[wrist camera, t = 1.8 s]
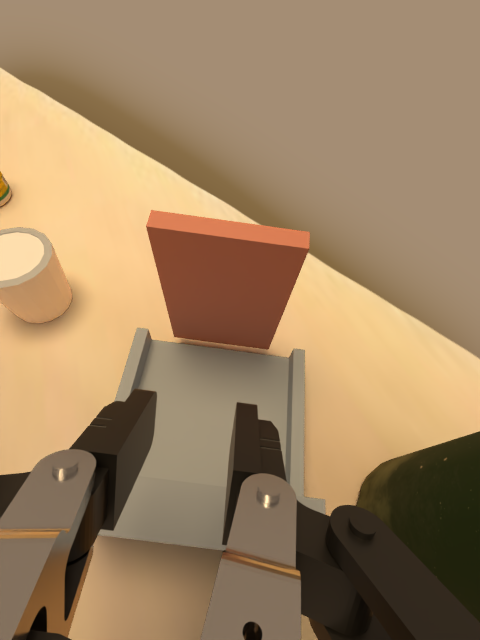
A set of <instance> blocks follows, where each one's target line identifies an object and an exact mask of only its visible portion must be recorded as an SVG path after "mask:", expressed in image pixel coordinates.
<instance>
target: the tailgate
mask: <svg viewBox="0 0 480 640" xmlns="http://www.w3.org/2000/svg"><path fill="white" fill-rule="evenodd" d="M146 227H147V231H148V235H149V239H150V243H151V247H152V251H153V255H154V259H155V263H156V267H157V271H158V275H159V279H160V283H161V286H162V290H163V294H164V298H165V302H166V306H167V310H168V314H169V318H170V322H171V326H172V330H173V334H174V337H178V338H186V339H193V340H201V341H208V342H216V343H223V344H231V345H238V346H246V347H253V348H261V349H269V347H270V344H271V342H272V339H273V337H274V334H275V332H276V329H277V327H278V324H279V322H280V320H281V317H282V315H283V312H284V310H285V307H286V305H287V302H288V300H289V297H290V295H291V292H292V290H293V287H294V285H295V283H296V280H297V278H298V275H299V273H300V270H301V268H302V265H303V263H304V260H305V258H306V255H307V253H308V250H309V235H310V233H309V232H305V231H298V230H290V229H283V228H276V227H269V226H262V225H255V224H247V223H240V222H233V221H226V220H219V219H211V218H204V217H197V216H190V215H183V214H175V213H168V212H161V211H154V210H151V213H150V216H149V219H148V222H147V225H146Z"/></svg>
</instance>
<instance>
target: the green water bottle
mask: <svg viewBox="0 0 480 640" xmlns="http://www.w3.org/2000/svg"><path fill="white" fill-rule="evenodd" d="M357 507H361V508H363V509H366V510H368V511H370V512H371V513H373V514H374V515H376V516H377V517H378V518H380V519H381V520H382V521H383V522H384V523H385V524H386V525H387V526H388V527H389V528H390V529H391V530H392V532H393V533H394V534H395V535H396V536H397V537H398V538H399V539H400V540H401V541H402V542H403V543H404V544H405V545H406V546H407V547H408V548H409V549H410V550H411V551H412V552H413V553H414V554H415V556H416V557H417V558H418V559H419V560H420V561H421V562H422V563H423V564H424V565H425V566H426V567H427V568H428V569H429V570H430V571H431V572H432V573H433V574H434V575H435V576H436V577H437V578H438V580H439V581H440V582H441V583H442V584H443V585H444V586H445V587H446V588H447V589H448V590H449V591H450V592H451V593H452V594H453V595H454V596H455V597H456V598H457V599H458V600H459V601H460V602H461V604H462V605H463V606H464V607H465V608H466V609H467V610H468V611H469V612H470V613H471V614H472V615H473V616H474V617H475V618H476V619H477V620H478V621H479V622H480V431H479V432H476V433H473V434H470V435H467V436H464V437H461V438H457V439H454V440H451V441H448V442H445V443H442V444H438V445H435V446H432V447H429V448H426V449H423V450H419V451H416V452H413V453H410V454H407V455H404V456H401V457H397V458H394V459H391V460H389V461H386V462H384V463H382V464H380V465H379V466H378V467H377V468H376V469H375V470H374V471H372V472H371V473H370V474H369V475H368V476H367V477H366V479H365V481H364V483H363V484H362V487H361V491H360V495H359V499H358V503H357Z"/></svg>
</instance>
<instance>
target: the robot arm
mask: <svg viewBox="0 0 480 640" xmlns="http://www.w3.org/2000/svg"><path fill="white" fill-rule="evenodd" d="M156 404H157V392H156V391H150V390H142V389H134V390H133V391H132V393H131V394H130V395H129V397H128V398H127V399H126V401H125V402H123V401H115V402H113V403H111V404H109V405H108V406H106V407H104V408H103V409H102V410H101V412H100V413H99V414H98V415H97V417H96V418H95V419H94V420H93V421H92V422H91V424H90V426H88V427H87V428H86V430H85V431H84V432H83V433H82V434H81V436H80V437H79V438H78V439H77V440H76V442H75V443H74V444H73V445H72V446H71V448H70V449H69V450H62V451H58V452H55V453H53V454H50V455H48V456H46V457H45V458H43V459H42V460H40V461H39V462H38V463H37V464H36V466H35V467H34V468H33V470H32V471H31V472H27V473H18V474H8V475H0V640H71V639H69V638H68V635H69V631H70V628H71V624H72V621H73V618H74V615H75V611H76V608H77V605H78V601H79V598H80V595H81V591H82V588H83V585H84V582H85V578H86V575H87V572H88V568H89V565H90V562H91V559H92V555H93V543H94V542H95V539H96V537H97V535H98V533H99V531H100V529H102V530H110V531H114V528H115V526H116V524H117V522H118V520H119V517H120V515H121V513H122V511H123V508H124V506H125V504H126V502H127V500H128V497H129V495H130V493H131V491H132V489H133V486H134V484H135V482H136V480H137V478H138V475H139V473H140V471H141V469H142V466H143V464H144V462H145V460H146V458H147V455H148V453H149V451H150V448H151V445H152V442H153V437H154V429H155V417H156ZM222 545H227V546H226V550H224V551H223V554H222V557H221V561H220V565H219V569H218V573H217V577H216V581H215V585H214V588H213V592H212V596H211V600H210V604H209V608H208V612H207V616H206V620H205V624H204V628H203V632H202V636H201V640H301V614H303V615H305V616H307V617H309V621H310V624H311V627H312V629H313V631H314V633H315V635H316V636H317V638H318V640H480V622H479V621H478V620H477V619H476V618H475V617H474V616H473V615H472V614H471V613H470V612H469V611H468V610H467V609H466V608H465V607H464V606H463V605H462V604H461V602H460V601H459V600H458V599H457V598H456V597H455V596H454V595H453V594H452V593H451V592H450V591H449V590H448V589H447V588H446V587H445V586H444V585H443V584H442V583H441V582H440V581H439V580H438V578H437V577H436V576H435V575H434V574H433V573H432V572H431V571H430V570H429V569H428V568H427V567H426V566H425V565H424V564H423V563H422V562H421V561H420V560H419V559H418V558H417V557H416V556H415V554H414V553H413V552H412V551H411V550H410V549H409V548H408V547H407V546H406V545H405V544H404V543H403V542H402V541H401V540H400V539H399V538H398V537H397V536H396V535H395V534H394V533H393V532H392V530H391V529H390V528H389V527H388V526H387V525H386V524H385V523H384V522H383V521H382V520H381V519H380V518H378V517H377V516H376V515H374V514H373V513H371V512H370V511H368V510H366V509H363V508H361V507H357V506H352V505H343V506H339V507H337V508H336V509H334V510H333V512H332V513H331V516H327V515H325V514H322V513H320V512H317V511H315V510H312V509H310V508H308V507H306V506H305V505H303V504H302V503H300V502H299V501H298V500H297V498H296V494H295V491H294V490H293V488H292V487H291V486H290V485H289V484H288V483H287V480H286V474H285V468H284V462H283V456H282V451H281V444H280V438H279V432H278V429H277V428H276V427H275V426H274V424H273V423H272V422H271V421H267V420H260V419H258V408H257V405H256V404H248V403H240V402H237V403H236V409H235V416H234V423H233V430H232V437H231V444H230V452H229V462H228V474H227V487H226V500H225V512H224V525H223V538H222Z"/></svg>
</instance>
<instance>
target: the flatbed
mask: <svg viewBox="0 0 480 640" xmlns="http://www.w3.org/2000/svg"><path fill="white" fill-rule="evenodd" d="M134 389H142V390H150V391H156V392H157V404H156V417H155V429H154V437H153V442H152V445H151V448H150V451H149V453H148V455H147V458H146V460H145V462H144V464H143V466H142V469H141V471H140V473H139V475H138V478H137V480H136V482H135V484H134V486H133V489H132V491H131V493H130V495H129V497H128V500H127V502H126V504H125V506H124V508H123V511H122V513H121V515H120V517H119V520H118V522H117V524H116V526H115V528H114V531H110V530H102V529H100V531H99V533H98V535H101V536H109V537H117V538H125V539H133V540H141V541H149V542H157V543H165V544H174V545H182V546H190V547H198V548H206V549H214V550H222V551H224V550H226V546H227V545H222V538H223V525H224V512H225V500H226V487H227V474H228V462H229V452H230V444H231V437H232V430H233V423H234V416H235V409H236V403H237V402H240V403H248V404H256V405H257V408H258V419H260V420H267V421H271V422H272V423H273V424H274V426H275V427H276V428H277V429H278V432H279V438H280V444H281V451H282V456H283V462H284V468H285V474H286V480H287V483H288V484H289V485H290V486H291V487H292V488H293V490H294V491H295V494H296V498H297V500H298V501H299V502H300V503H302V504H303V505H305V506H306V507H308V508H310V509H312V510H315V511H317V512H320V513H322V514H325V499H317V498H309V497H304V395H305V350H301V349H293V351H292V353H291V355H290V357H289V358H287V357H279V356H272V355H264V354H257V353H249V352H242V351H234V350H226V349H219V348H211V347H204V346H196V345H189V344H181V343H174V342H166V341H159V340H152V339H151V336H150V333H149V329H143V328H137V330H136V333H135V336H134V340H133V343H132V346H131V349H130V353H129V356H128V359H127V362H126V366H125V369H124V372H123V375H122V379H121V382H120V385H119V388H118V392H117V395H116V398H115V401H123V402H125V401H126V399H127V398H128V397H129V395H130V394H131V393H132V391H133V390H134ZM115 401H114V402H115Z"/></svg>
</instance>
